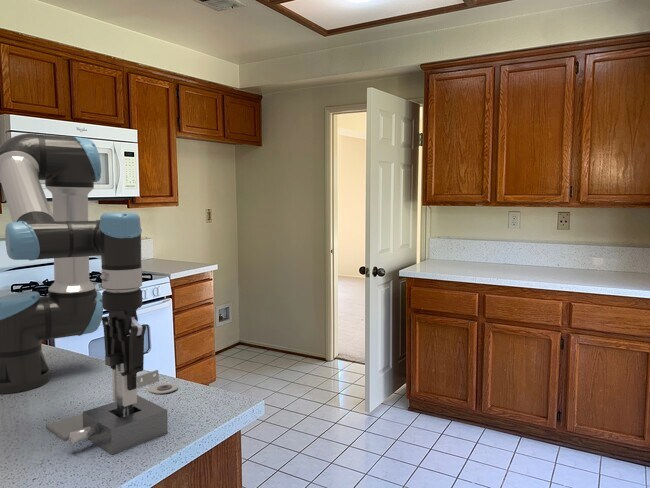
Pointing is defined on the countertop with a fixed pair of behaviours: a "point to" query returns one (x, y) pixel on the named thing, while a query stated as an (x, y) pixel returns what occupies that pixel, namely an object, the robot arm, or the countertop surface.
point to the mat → (66, 426)
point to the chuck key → (119, 383)
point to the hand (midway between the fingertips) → (125, 401)
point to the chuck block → (122, 426)
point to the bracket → (150, 379)
